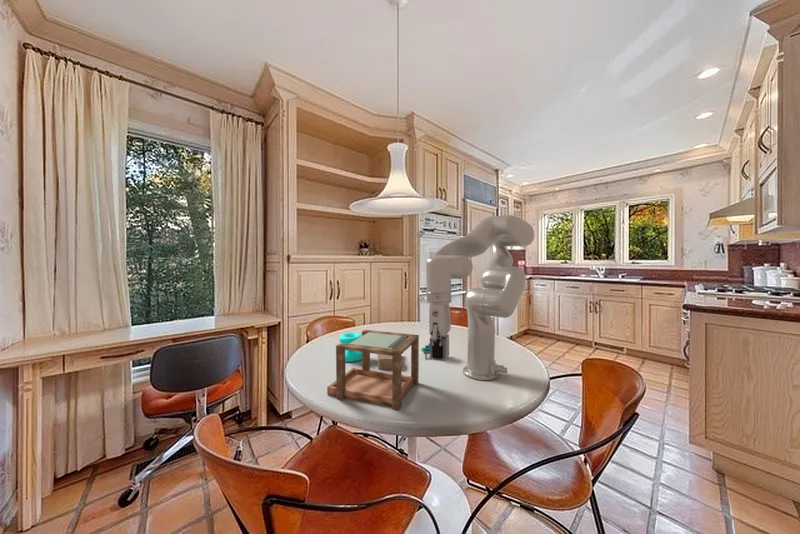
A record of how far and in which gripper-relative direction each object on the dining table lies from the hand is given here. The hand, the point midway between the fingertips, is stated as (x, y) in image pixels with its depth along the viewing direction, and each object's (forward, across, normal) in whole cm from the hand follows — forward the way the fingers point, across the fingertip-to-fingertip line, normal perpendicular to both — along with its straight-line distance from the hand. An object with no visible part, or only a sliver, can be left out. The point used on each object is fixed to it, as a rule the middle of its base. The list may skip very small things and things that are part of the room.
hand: (439, 354), depth 98 cm
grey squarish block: (+1, 0, 0) cm, 1 cm away
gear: (+14, +32, +10) cm, 36 cm away
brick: (+14, +20, +26) cm, 36 cm away
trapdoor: (-3, -4, +19) cm, 20 cm away
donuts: (+13, +19, +42) cm, 47 cm away
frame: (+12, -4, +21) cm, 25 cm away
